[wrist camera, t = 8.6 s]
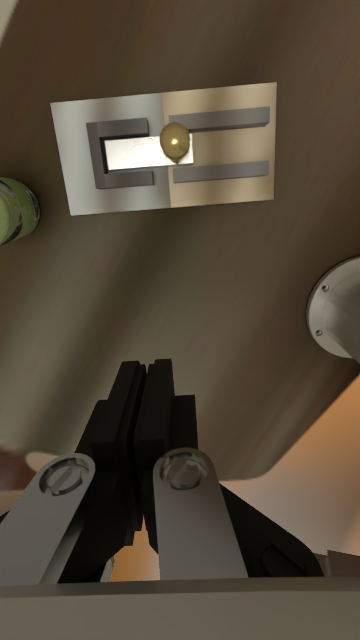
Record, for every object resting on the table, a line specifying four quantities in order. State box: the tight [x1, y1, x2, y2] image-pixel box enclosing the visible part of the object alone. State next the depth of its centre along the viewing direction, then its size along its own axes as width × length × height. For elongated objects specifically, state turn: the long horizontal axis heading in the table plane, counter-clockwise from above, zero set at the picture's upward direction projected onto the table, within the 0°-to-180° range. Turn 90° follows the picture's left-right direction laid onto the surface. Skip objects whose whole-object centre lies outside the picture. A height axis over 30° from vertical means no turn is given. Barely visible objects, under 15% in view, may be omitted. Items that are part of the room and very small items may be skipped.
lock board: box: [50, 82, 277, 215], centre depth 31 cm, size 21×10×4 cm, turn 94°
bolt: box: [105, 122, 193, 171], centre depth 28 cm, size 8×2×6 cm, turn 94°
